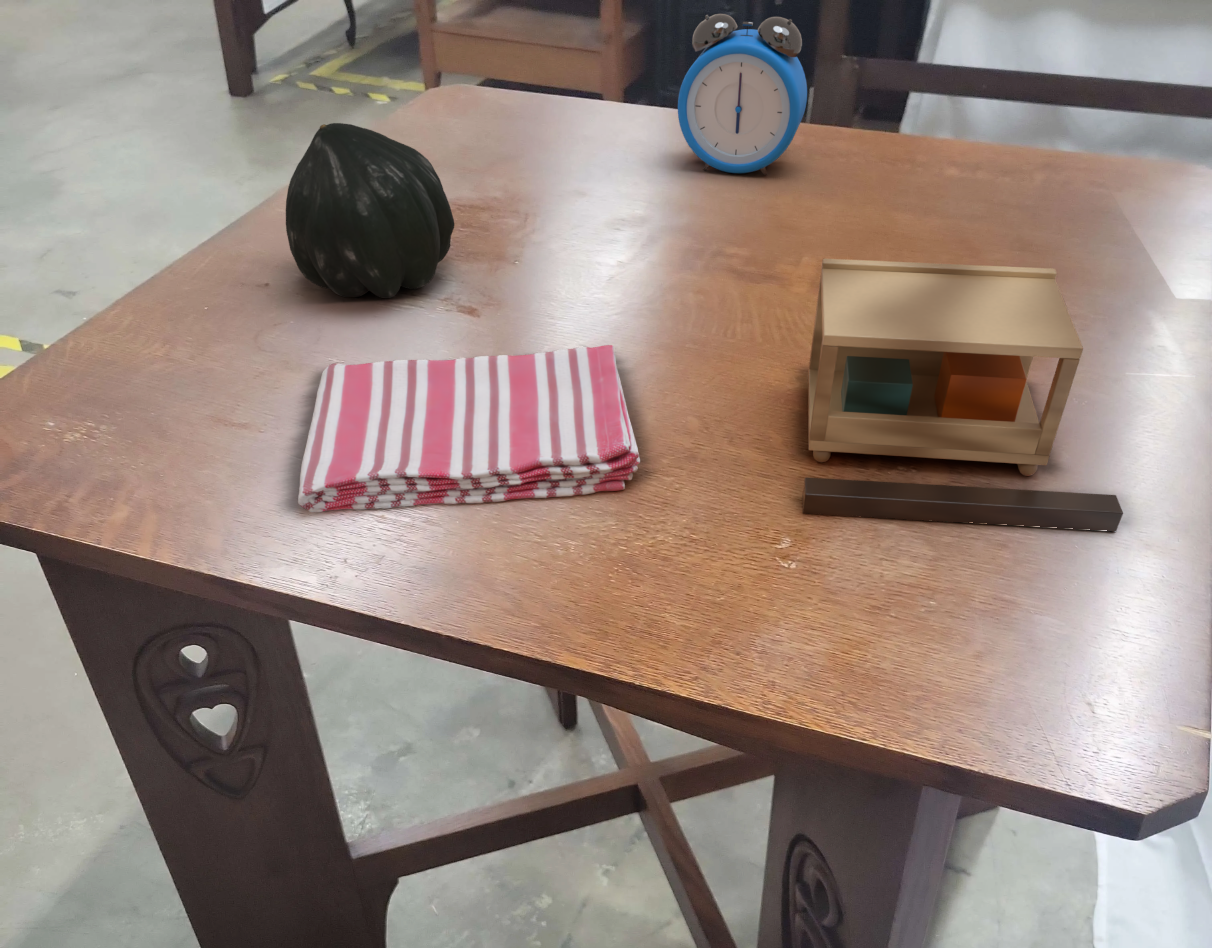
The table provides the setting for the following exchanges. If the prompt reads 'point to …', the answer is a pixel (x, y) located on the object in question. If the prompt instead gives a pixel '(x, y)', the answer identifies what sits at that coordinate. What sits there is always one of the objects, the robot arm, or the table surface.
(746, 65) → the alarm clock
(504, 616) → the table surface
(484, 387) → the dish towel
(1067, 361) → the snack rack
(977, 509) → the edge strip
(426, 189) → the squash
